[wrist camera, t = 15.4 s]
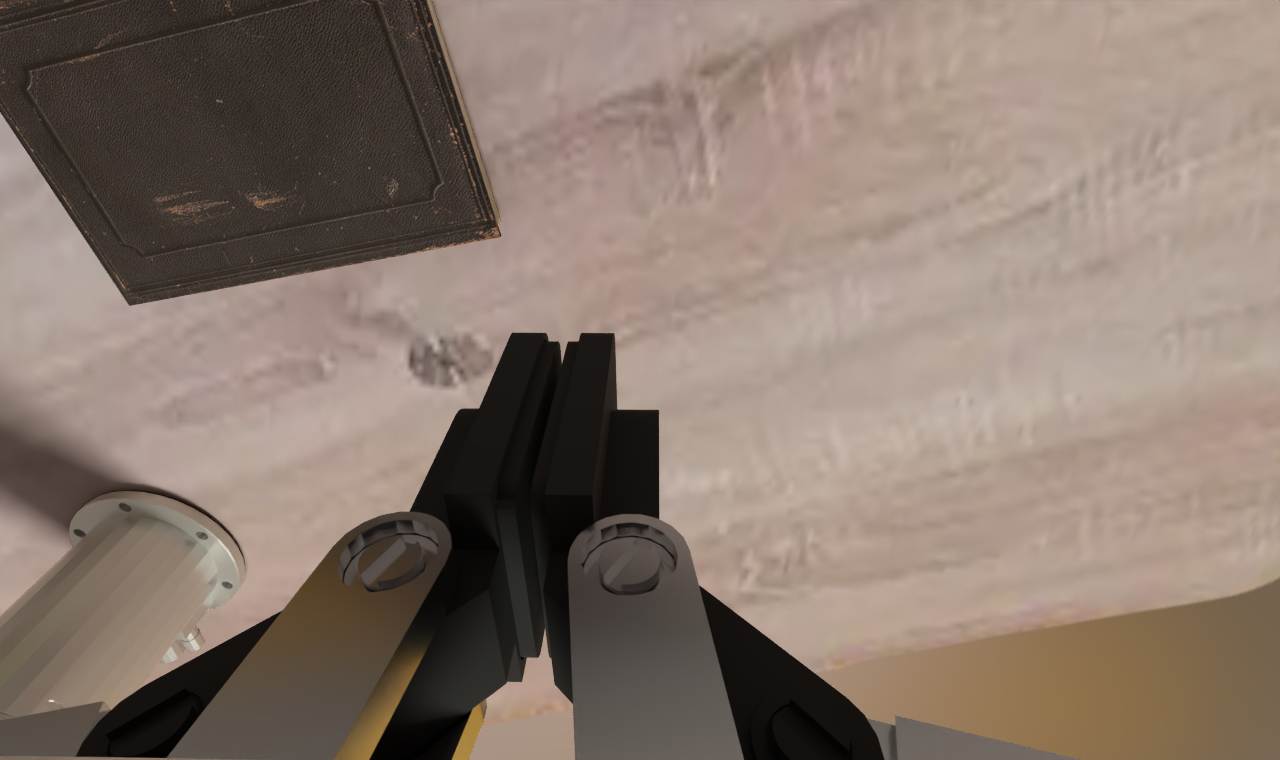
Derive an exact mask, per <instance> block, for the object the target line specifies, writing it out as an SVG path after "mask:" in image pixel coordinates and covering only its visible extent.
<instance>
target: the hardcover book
mask: <svg viewBox="0 0 1280 760" xmlns="http://www.w3.org/2000/svg"><path fill="white" fill-rule="evenodd" d="M0 112H1V114H2V115H3V117H4V118H5V120H6V121H7V123H8V124H9V126H10V127H11V129H12V130H13V132H14V133H15V135H16V136H17V138H18V139H19V141H20V142H21V144H22V145H23V147H24V148H25V150H26V151H27V153H28V154H29V156H30V157H31V159H32V160H33V162H34V163H35V165H36V166H37V168H38V169H39V171H40V172H41V174H42V175H43V177H44V178H45V180H46V181H47V183H48V184H49V186H50V187H51V189H52V190H53V192H54V193H55V195H56V196H57V198H58V199H59V201H60V202H61V204H62V205H63V207H64V208H65V210H66V211H67V213H68V214H69V216H70V217H71V219H72V220H73V222H74V223H75V225H76V226H77V228H78V229H79V231H80V232H81V234H82V235H83V237H84V238H85V240H86V241H87V243H88V244H89V246H90V247H91V249H92V250H93V252H94V253H95V255H96V256H97V258H98V259H99V261H100V262H101V264H102V265H103V267H104V268H105V270H106V271H107V273H108V274H109V276H110V277H111V279H112V280H113V282H114V283H115V285H116V286H117V288H118V289H119V291H120V292H121V294H122V295H123V297H124V298H125V300H126V301H127V303H128V304H129V306H131V305H136V304H142V303H147V302H152V301H158V300H163V299H169V298H174V297H179V296H185V295H190V294H196V293H201V292H206V291H212V290H217V289H223V288H228V287H233V286H239V285H244V284H250V283H255V282H260V281H266V280H271V279H277V278H282V277H287V276H293V275H298V274H304V273H309V272H314V271H320V270H325V269H331V268H336V267H341V266H347V265H352V264H358V263H363V262H368V261H374V260H379V259H384V258H390V257H395V256H401V255H406V254H411V253H417V252H422V251H428V250H433V249H438V248H444V247H449V246H455V245H460V244H465V243H471V242H476V241H482V240H487V239H492V238H498V237H501V233H500V230H499V227H498V226H499V225H500V222H501V220H500V217H499V214H498V211H497V207H496V204H495V201H494V198H493V195H492V192H491V188H490V185H489V182H488V179H487V176H486V172H485V169H484V166H483V163H482V160H481V157H480V153H479V150H478V147H477V144H476V141H475V138H474V134H473V131H472V128H471V125H470V122H469V119H468V115H467V112H466V109H465V106H464V103H463V99H462V96H461V93H460V90H459V87H458V84H457V80H456V77H455V74H454V71H453V68H452V65H451V61H450V58H449V55H448V52H447V49H446V45H445V42H444V39H443V36H442V33H441V30H440V26H439V23H438V20H437V17H436V14H435V11H434V7H433V4H432V1H431V0H0Z"/></svg>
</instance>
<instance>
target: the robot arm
mask: <svg viewBox="0 0 1280 760" xmlns="http://www.w3.org/2000/svg"><path fill="white" fill-rule="evenodd" d="M69 533H70V541H71V544H72V547H73V548H72V549H71V550H70V551H68V552H67V553H66V554H65V555H64V556H63V557H62V558H61V559H60V560H59V561H58V562H57V563H56V564H55V565H54V566H53V567H52V568H51V569H49V570H48V571H47V572H46V573H45V574H44V575H43V576H42V577H41V578H40V579H39V580H38V581H37V582H36V583H35V584H34V585H33V586H32V587H31V588H29V589H28V590H27V591H26V592H25V593H24V594H23V595H22V596H21V597H20V598H19V599H18V600H17V601H16V602H15V603H14V604H13V605H12V606H11V607H9V608H8V609H7V610H6V611H5V612H4V613H3V614H2V615H1V616H0V760H469V758H470V755H471V753H472V750H473V748H474V745H475V742H476V740H477V737H478V735H479V732H480V730H481V727H482V725H483V722H484V718H485V714H486V709H487V702H486V698H488V697H489V696H490V695H492V694H493V693H494V692H496V691H497V690H498V689H500V688H501V687H502V686H503V685H505V684H506V683H507V682H522V679H523V674H524V669H525V664H526V659H527V657H536V658H538V657H539V655H540V652H541V647H542V642H543V636H544V630H545V629H546V637H547V644H548V652H549V657H550V658H552V666H553V674H554V682H555V685H556V686H557V687H558V688H559V689H560V691H561V692H562V693H563V694H564V695H565V696H566V697H567V698H568V699H569V700H570V701H571V703H572V704H573V716H574V740H575V741H574V742H575V760H1080V759H1076V758H1072V757H1067V756H1063V755H1059V754H1055V753H1051V752H1046V751H1042V750H1037V749H1034V748H1030V747H1025V746H1021V745H1017V744H1013V743H1008V742H1004V741H1000V740H995V739H992V738H987V737H983V736H979V735H975V734H971V733H966V732H962V731H958V730H954V729H950V728H945V727H941V726H937V725H933V724H929V723H924V722H920V721H916V720H912V719H908V718H903V717H899V716H895V717H894V720H893V723H892V725H891V724H887V723H883V722H879V721H875V720H870V719H867V718H866V717H865V715H864V714H863V713H862V712H861V711H860V710H859V709H858V708H857V707H856V706H855V705H854V704H853V703H852V702H851V701H850V700H849V699H847V698H846V697H845V696H844V695H842V694H841V693H840V692H838V691H837V690H836V689H835V688H833V687H832V686H831V685H829V684H828V683H827V682H825V681H824V680H823V679H821V678H820V677H819V676H818V675H816V674H815V673H814V672H812V671H811V670H810V669H808V668H807V667H806V666H804V665H803V664H802V663H800V662H799V661H798V660H797V659H795V658H794V657H793V656H791V655H790V654H789V653H787V652H786V651H785V650H783V649H782V648H781V647H779V646H778V645H777V644H776V643H774V642H773V641H772V640H770V639H769V638H768V637H766V636H765V635H764V634H762V633H761V632H760V631H758V630H757V629H756V628H755V627H753V626H752V625H751V624H749V623H748V622H747V621H745V620H744V619H743V618H741V617H740V616H739V615H738V614H736V613H735V612H734V611H732V610H731V609H730V608H728V607H727V606H726V605H724V604H723V603H722V602H720V601H719V600H718V599H717V598H715V597H714V596H713V595H711V594H710V593H709V592H707V591H706V590H705V589H703V588H702V587H701V586H699V584H698V580H697V576H696V573H695V569H694V565H693V561H692V557H691V553H690V550H689V548H688V546H687V544H686V542H685V540H684V537H683V536H682V535H681V534H680V533H679V532H678V531H677V530H676V529H675V528H673V527H672V526H671V525H669V524H667V523H665V522H663V521H661V520H659V410H617V389H616V356H615V336H614V333H581V335H580V339H579V342H568V344H567V347H566V351H565V355H564V359H563V363H562V362H561V350H560V344H559V342H549V341H548V336H547V334H546V333H512V334H511V336H510V338H509V340H508V343H507V345H506V347H505V350H504V352H503V354H502V357H501V359H500V361H499V364H498V366H497V368H496V371H495V373H494V375H493V378H492V380H491V382H490V385H489V387H488V389H487V392H486V394H485V396H484V399H483V401H482V403H481V406H480V408H479V409H461V410H459V411H458V413H457V414H456V415H455V418H454V420H453V422H452V424H451V426H450V428H449V430H448V432H447V434H446V436H445V438H444V441H443V443H442V445H441V447H440V449H439V451H438V453H437V455H436V457H435V459H434V462H433V464H432V466H431V468H430V470H429V472H428V474H427V476H426V478H425V480H424V482H423V485H422V487H421V489H420V491H419V493H418V495H417V497H416V499H415V501H414V503H413V506H412V508H411V510H410V512H396V513H391V514H386V515H381V516H378V517H376V518H373V519H371V520H368V521H366V522H363V523H362V524H360V525H359V526H357V527H355V528H354V529H352V530H351V531H349V532H348V533H346V534H345V535H344V536H343V537H342V538H341V539H340V540H339V541H338V542H337V543H336V544H335V545H334V546H333V547H332V549H331V550H330V551H329V552H328V554H327V555H326V556H325V557H324V559H323V560H322V561H321V563H320V564H319V565H318V566H317V568H316V569H315V570H314V571H313V573H312V574H311V575H310V576H309V578H308V579H307V580H306V582H305V583H304V584H303V585H302V587H301V588H300V589H299V590H298V592H297V593H296V594H295V596H294V597H293V598H292V599H291V601H290V602H289V603H288V604H287V606H286V607H285V608H284V609H283V610H282V611H281V612H279V613H277V614H275V615H273V616H271V617H270V618H268V619H266V620H264V621H262V622H260V623H259V624H257V625H255V626H253V627H251V628H249V629H248V630H246V631H244V632H242V633H240V634H238V635H237V636H235V637H233V638H231V639H229V640H227V641H226V642H224V643H222V644H220V645H218V646H216V647H215V648H213V649H211V650H209V651H207V652H205V653H204V654H202V655H200V656H198V657H196V658H194V659H193V660H191V661H189V662H187V663H185V664H183V665H182V666H180V667H178V668H176V669H174V670H172V671H171V672H169V673H167V674H165V675H163V676H161V677H160V678H158V679H156V680H154V681H152V682H150V683H149V684H147V685H145V686H143V687H142V688H140V687H141V686H142V684H143V683H144V682H145V680H146V679H147V678H148V676H149V675H150V674H151V672H152V671H153V670H154V668H155V667H156V666H157V664H158V663H159V661H160V662H161V663H168V662H172V661H174V660H176V659H177V658H179V657H180V656H181V655H182V654H183V652H184V650H185V648H186V650H187V651H189V652H193V651H196V650H198V649H200V648H201V647H202V646H203V645H204V643H205V639H204V637H203V635H202V634H201V632H200V630H199V629H198V628H197V627H196V625H197V623H198V622H199V621H200V619H201V618H202V617H203V615H204V614H205V612H206V611H207V610H210V609H214V608H217V607H219V606H221V605H223V604H225V603H226V602H227V601H229V600H230V599H231V598H232V597H233V596H234V595H235V593H236V592H237V590H238V589H239V588H240V586H241V584H242V582H243V580H244V576H245V565H244V560H243V557H242V555H241V553H240V551H239V549H238V547H237V545H236V544H235V542H234V541H233V540H232V538H231V537H230V536H229V535H228V534H227V533H226V532H225V531H224V530H223V529H222V528H221V527H220V526H219V525H218V524H217V523H215V522H214V521H213V520H211V519H210V518H209V517H207V516H206V515H204V514H202V513H201V512H199V511H197V510H196V509H194V508H192V507H190V506H188V505H186V504H183V503H181V502H179V501H176V500H174V499H170V498H167V497H164V496H161V495H157V494H151V493H146V492H136V491H120V492H110V493H107V494H104V495H100V496H98V497H96V498H94V499H93V500H91V501H89V502H88V503H87V504H86V505H85V506H84V507H83V508H81V509H80V510H79V511H78V512H77V513H76V514H75V516H74V518H73V519H72V521H71V524H70V528H69ZM139 688H140V689H139Z"/></svg>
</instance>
